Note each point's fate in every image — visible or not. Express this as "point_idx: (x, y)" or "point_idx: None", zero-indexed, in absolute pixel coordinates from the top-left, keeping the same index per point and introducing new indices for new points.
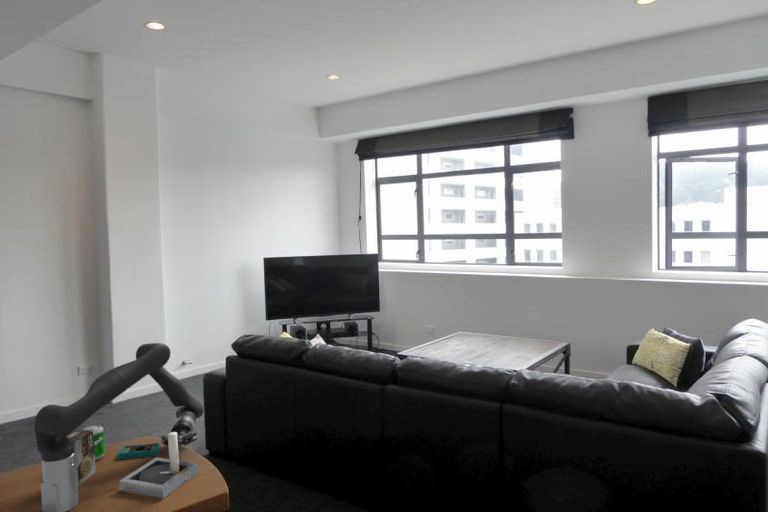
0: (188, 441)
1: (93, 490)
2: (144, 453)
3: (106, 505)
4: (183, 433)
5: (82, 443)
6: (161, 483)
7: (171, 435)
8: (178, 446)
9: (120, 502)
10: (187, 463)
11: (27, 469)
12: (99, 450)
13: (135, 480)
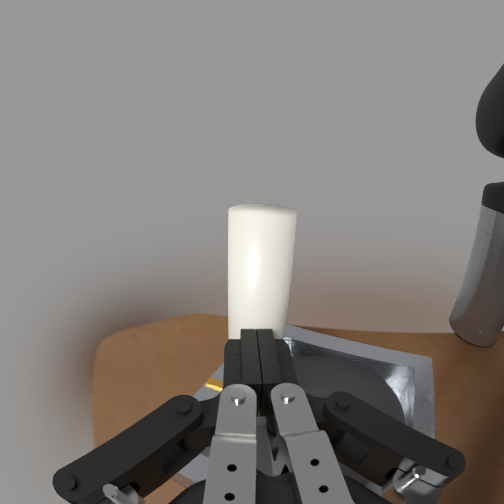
0: (160, 464)
1: (479, 376)
2: None
3: (396, 332)
4: (207, 499)
5: None
6: None
7: (262, 204)
8: (231, 344)
9: (373, 339)
10: (196, 466)
11: None
12: None
13: (383, 360)
